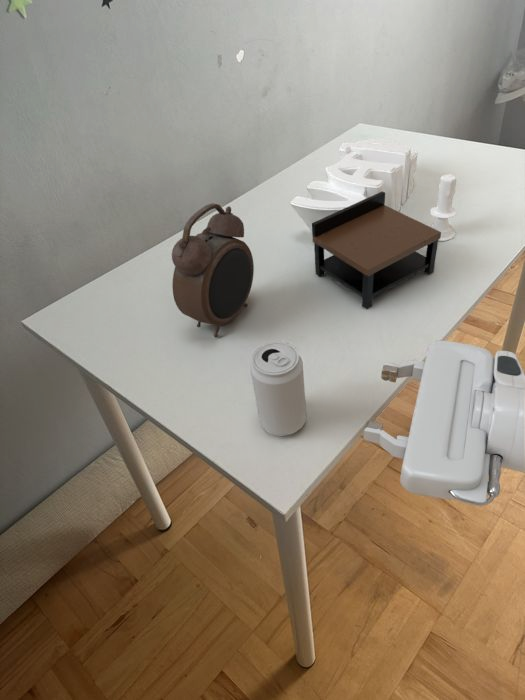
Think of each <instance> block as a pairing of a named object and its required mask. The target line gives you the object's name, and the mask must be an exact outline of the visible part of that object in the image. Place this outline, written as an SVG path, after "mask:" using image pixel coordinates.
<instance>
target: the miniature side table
mask: <svg viewBox="0 0 525 700" xmlns="http://www.w3.org/2000/svg"><path fill="white" fill-rule="evenodd" d="M311 234H312V236H311V237H312V238H311V239H312V242H313V243H314V244H313V246H314V267H315V275H316V276H317V277H319V278H321V277H322V276H324V275H325V274H327V275H328V276H330V277H331V278H333V279H334V280H336V281H337V282H338V283H340V284H341V285H343V286H344V287H346V288H348V289H349V290H350V291H352V292H353V293H355V295H358V296H359V297H361V307H362V308H364V309H365V310H368V309H370V308H372V306H373V298H374V297H376V296H378V295H380V294H382V293H384V292H386V291H387V290H390V289H391V288H393V287H394V286H397V285H398V284H400V283H403V282H404V281H405V280H407V279H409V278H411V277H413V276H415V275H417V274H419V273H421V272H422V271H423V273H424V274H426V275H428V276H430V275H432V274H433V273H434V271H435V265H436V259H437V253H438V246H439V241H438V239H440V237H441V232H440V231H438V230H435V229H433V228H431V226H429V225H427V224H425V223H423V222H420V221H419V220H417V219H415V218H412V217H411V216H408V215H406V214H404V213H403V212H400V211H399V212H398V211H396V210H394V209H392V208H390V207H388V206H386V205H385V192H383V191H382V192H380V193H377V194H375V195H373V196H371V197H369V198H366V199H364V200H362V201H360V202H358V203H355V204H353V205H351V206H349V207H347V208H344V209H342V210H340V211H338V212H336V213H333V214H331V215H329V216H327V217H325V218H322V219H320V220H318V221H316V222H314V223H312V231H311ZM424 247H426V252H425V255H424V254H422V253H420V252H418V251H419V250H421V249H423V248H424ZM325 251H326V252H328V253H329V254H331V256H329V257H326V258H325Z"/></svg>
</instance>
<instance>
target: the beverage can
mask: <svg viewBox="0 0 525 700" xmlns="http://www.w3.org/2000/svg"><path fill="white" fill-rule="evenodd" d="M249 369H250V375H251V380H252V387H253V391H254V392H253V393H254V398H255V403H256V409H257V414H258V421H259V424H260V426H261V428H262V429H263V430H264V431H266V432H267V433H269V434H271V435H274V436H278V437H279V436H282V437H283V436H289V435H292V434H294V433H296V432H298V431H299V430H301V429H302V427H303V426H304V425H305V423H306V421H307V407H306V406H307V403H306V391H305V378H304V377H305V376H304V375H305V374H304V363H303V359H302V357H301V355H300V354H299V351H298V349H297V348H296V347H295V346H293V345H292V344H290V343H288V342H284V341H270V342H268V343H264V344H262V345H260V346H259V347H257V348H256V350H255V351H254V353H253V355H252V357H251V362H250V364H249Z"/></svg>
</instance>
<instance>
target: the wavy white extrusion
mask: <svg viewBox="0 0 525 700" xmlns="http://www.w3.org/2000/svg"><path fill="white" fill-rule="evenodd" d="M338 149H339V156H340V160H338V161H337V163H335V164H332V165H328V166H326V167H324V169H325V173H326V176H327V180H328V181H321V180H313V181H311V182H310V183H309V184H307V186H306V190H307V191H308V193H309V195H310V197H311V198H308V197H305V196H304V197H303V196H300V195H297V196H295V197H294V198H293V199H292V200H291V201H290V202H289V205H290V206H291V207H292V209H293V210H294V211H295V213H297V215H299V217H300V219H301V220H302V221H303V222H304V223H305V225H306V226H307V227H308V229H309V230H310V231H311V232H312V223H314V222H316V221H318V220H320V219H322V218H325V217H327V216H329V215H331V214H333V213H336V212H338V211H340V210H342V209H344V208H347V207H349V206H351V205H353V204H355V203H358V202H360V201H362V200H364V199H366V198H369V197H371V196H373V195H375V194H377V193H380V192H382V191H383V192H385V205H386V206H388V207H390V208H392V209H394V210H396V211H398V212H400V210H401V206H403V205H405V203H406V201H407V199H408V198H409V197H410V196H411V195H412V193H413V187H414V181H415V174H416V169H417V168H416V167H417V162H418V158H419V157H418V156H419V152H417V151H416V149H414V148H412V147H411V146H408V145H406V144H404V143H401V142H397V141H393V140H389V139H382V138H370V139H368V138H367V139H364V140H359V141H358V142H357V141H356V142H352V141H343V142H342V144H341V145H340V146H339V148H338Z"/></svg>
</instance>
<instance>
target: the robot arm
mask: <svg viewBox="0 0 525 700" xmlns="http://www.w3.org/2000/svg"><path fill="white" fill-rule="evenodd" d="M408 377H409V378H410V377H411V380H413V381H418V382H420V383H419V387H418V391H417V396H416V401H415V404H414V410H413V415H412V419H411V424H410V427H409V428H410V429H409V433H408V436H405V435H399V434H398V435H396V438H395V437H394V436H392V435H390V434H389V433H388V432H386V431H385V430H383V427H384V423H381V422H374V421H372V420H368V421H366V424H365V427H364V430H363V440H364V441H366V442H369V443H374V444H378V445H379V446H380V447H381V448H383V449H384V450H385V451H386V453H388V454H390V455H391V456H392V457H393V458H397V459H401V460H402V464H401V469H400V471H401V472H400V475H399V476H400V477H399V483H400V485H401V486H402V487H403V489H404V490H406V491H407V493H409V494H414V495H417V496H422V497H427V498H436V499H441V500H442V499H443V500H449V501H451V500H452V501H458V502H460V503H462V504H463V503H464V504H468V505H471V506H475V507H484V506H487V505H489V504H491V503H492V502H493V501H494V500H495V498H498V497H499V495H500V491H501V482H500V480H501V479H500V478H501V474H502V469H507V470H511V471H515V472H520V473H524V474H525V372H524V370H523V367H522V365H521V363H520V361H519V358H518V356H517V355H516V354H515V352H513V351H508V350H497V351H496V352H495V354H494V355H493V354H492V352H490V350H489V349H486V348H485V347H482V346H478V345H473V344H469V343H464V342H458V341H451V340H436V341H433V342H430V343H428V346H427V351H426V355H425V360H419V359H411V360H408V361H405V362H400V363H395V362H388V361H386V362H383V366H382V369H381V376H380V378H381V380H382V381H386V382H387V381H389V382H390V383H394V384H395V383H396V382H397V379H401V378H408Z"/></svg>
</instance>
